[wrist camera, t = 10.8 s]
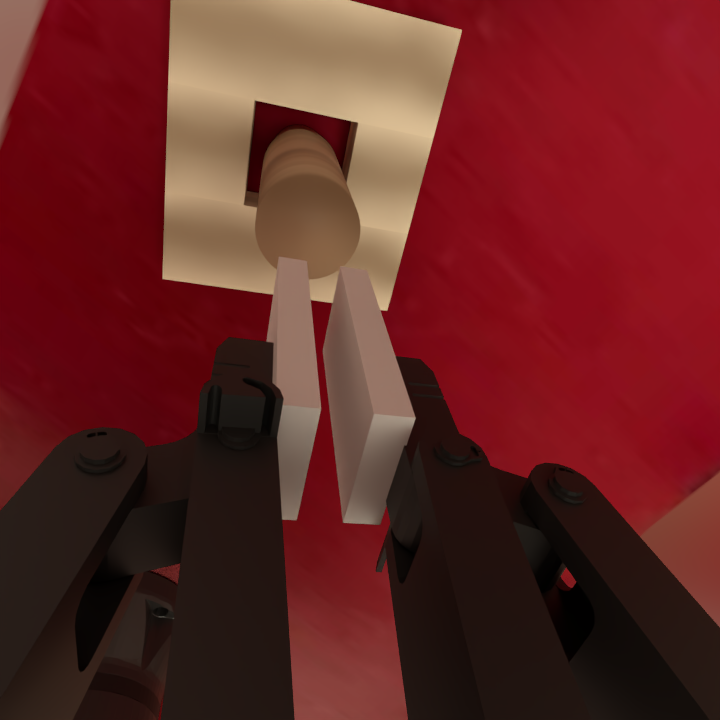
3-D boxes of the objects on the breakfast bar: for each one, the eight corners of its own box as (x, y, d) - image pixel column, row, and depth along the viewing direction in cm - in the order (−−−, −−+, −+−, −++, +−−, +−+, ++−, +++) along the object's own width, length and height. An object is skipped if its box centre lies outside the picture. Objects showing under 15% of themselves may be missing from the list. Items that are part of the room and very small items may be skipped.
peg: (325, 192, 34) (349, 286, 22) (261, 180, 33) (249, 271, 21) (338, 124, 32) (370, 188, 20) (269, 110, 31) (261, 167, 19)
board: (380, 291, 38) (387, 310, 35) (171, 260, 35) (162, 278, 32) (447, 28, 30) (462, 30, 27) (182, -41, 27) (172, -47, 24)
